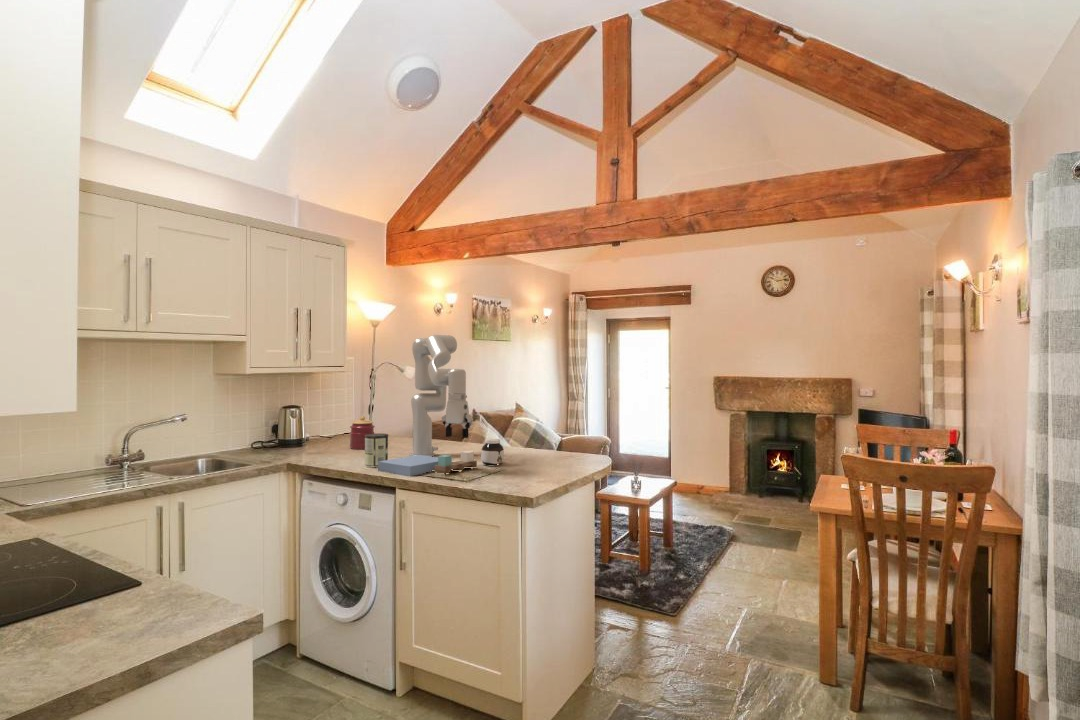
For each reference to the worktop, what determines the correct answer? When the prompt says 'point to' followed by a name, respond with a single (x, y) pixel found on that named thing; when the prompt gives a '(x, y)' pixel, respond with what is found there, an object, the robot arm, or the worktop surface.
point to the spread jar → (492, 452)
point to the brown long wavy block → (455, 466)
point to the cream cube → (467, 456)
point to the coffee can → (375, 449)
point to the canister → (360, 432)
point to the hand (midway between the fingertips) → (456, 437)
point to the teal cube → (444, 460)
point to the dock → (409, 465)
